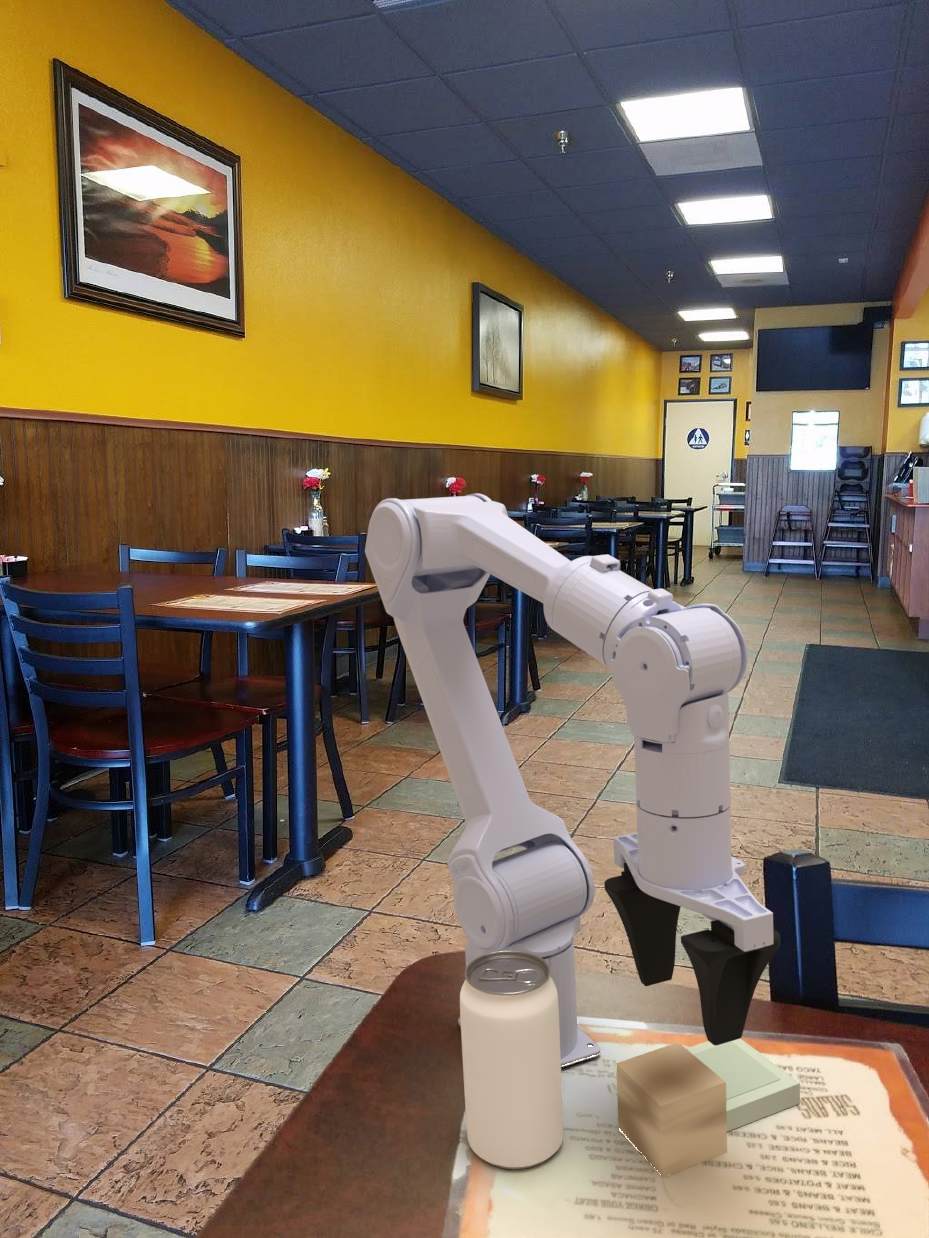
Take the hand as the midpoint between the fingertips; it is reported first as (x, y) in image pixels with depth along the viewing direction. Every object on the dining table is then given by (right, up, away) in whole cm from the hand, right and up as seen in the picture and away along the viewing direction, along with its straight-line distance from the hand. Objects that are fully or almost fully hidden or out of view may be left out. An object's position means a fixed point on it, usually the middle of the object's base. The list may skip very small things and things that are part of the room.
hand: (688, 1008), depth 61 cm
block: (-1, -10, +2) cm, 10 cm away
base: (+4, -9, +7) cm, 12 cm away
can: (-11, -10, +3) cm, 15 cm away
